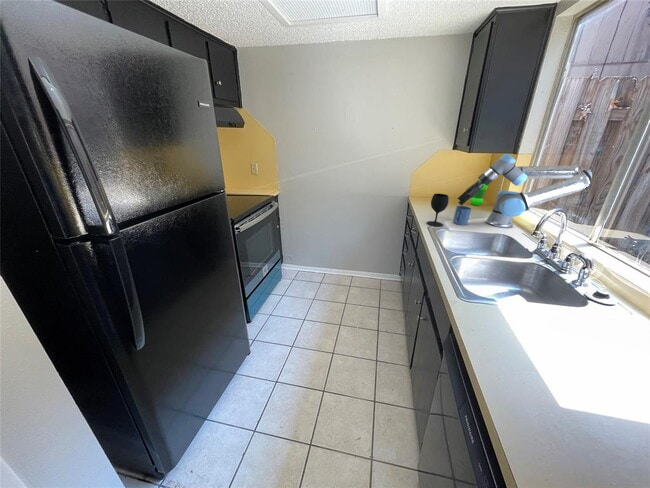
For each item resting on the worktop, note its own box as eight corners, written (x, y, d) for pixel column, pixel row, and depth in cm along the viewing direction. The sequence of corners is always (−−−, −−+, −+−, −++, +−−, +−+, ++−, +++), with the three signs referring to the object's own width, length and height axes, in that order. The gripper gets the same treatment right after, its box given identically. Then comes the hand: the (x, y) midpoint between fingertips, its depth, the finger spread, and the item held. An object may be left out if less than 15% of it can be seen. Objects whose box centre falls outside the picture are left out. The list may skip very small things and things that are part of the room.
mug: (456, 220, 184) (460, 205, 179) (469, 223, 177) (473, 208, 173) (447, 223, 177) (451, 207, 172) (460, 227, 170) (464, 211, 166)
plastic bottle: (466, 203, 229) (473, 174, 219) (477, 203, 230) (485, 174, 220) (473, 206, 220) (481, 176, 210) (484, 206, 221) (493, 176, 211)
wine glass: (444, 227, 169) (451, 197, 161) (428, 225, 170) (434, 196, 162) (441, 222, 178) (447, 193, 170) (425, 221, 180) (431, 192, 172)
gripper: (481, 170, 170) (454, 194, 181) (485, 175, 149) (455, 202, 160) (489, 178, 169) (462, 201, 181) (495, 184, 148) (464, 210, 160)
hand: (459, 201), depth 170 cm, fingers open, 13 cm apart
